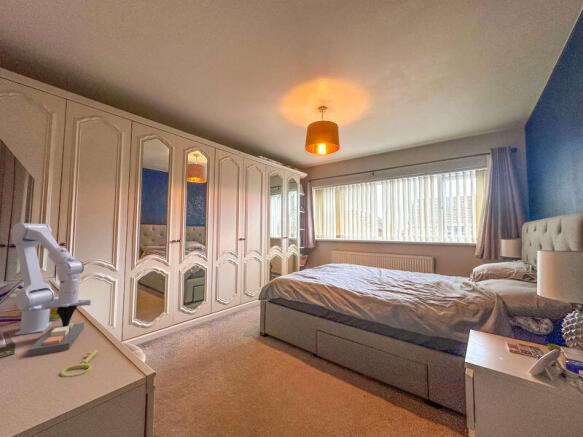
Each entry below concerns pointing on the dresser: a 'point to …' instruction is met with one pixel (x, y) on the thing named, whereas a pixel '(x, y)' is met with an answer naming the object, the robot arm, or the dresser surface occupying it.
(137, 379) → the dresser surface
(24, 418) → the dresser surface
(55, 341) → the terracotta key
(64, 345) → the grey flat frame
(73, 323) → the sage key
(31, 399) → the dresser surface
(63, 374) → the key
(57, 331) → the cream key
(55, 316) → the supplement bottle
